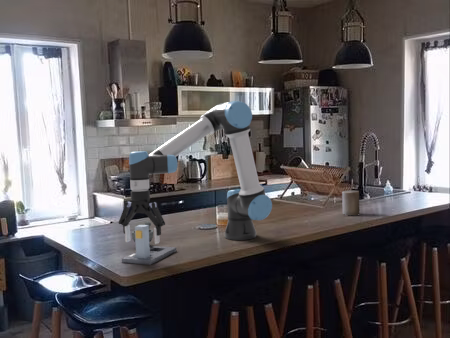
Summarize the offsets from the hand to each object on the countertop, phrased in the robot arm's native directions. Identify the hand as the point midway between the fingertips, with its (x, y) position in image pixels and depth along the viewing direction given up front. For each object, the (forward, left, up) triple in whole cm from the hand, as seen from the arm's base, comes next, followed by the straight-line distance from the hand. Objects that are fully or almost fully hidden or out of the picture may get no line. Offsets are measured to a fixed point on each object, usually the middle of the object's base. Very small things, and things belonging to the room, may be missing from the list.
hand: (142, 242), depth 195 cm
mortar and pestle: (+12, -20, -7) cm, 25 cm away
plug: (0, 0, -7) cm, 7 cm away
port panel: (0, -6, -7) cm, 9 cm away
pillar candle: (-67, -120, -8) cm, 138 cm away
